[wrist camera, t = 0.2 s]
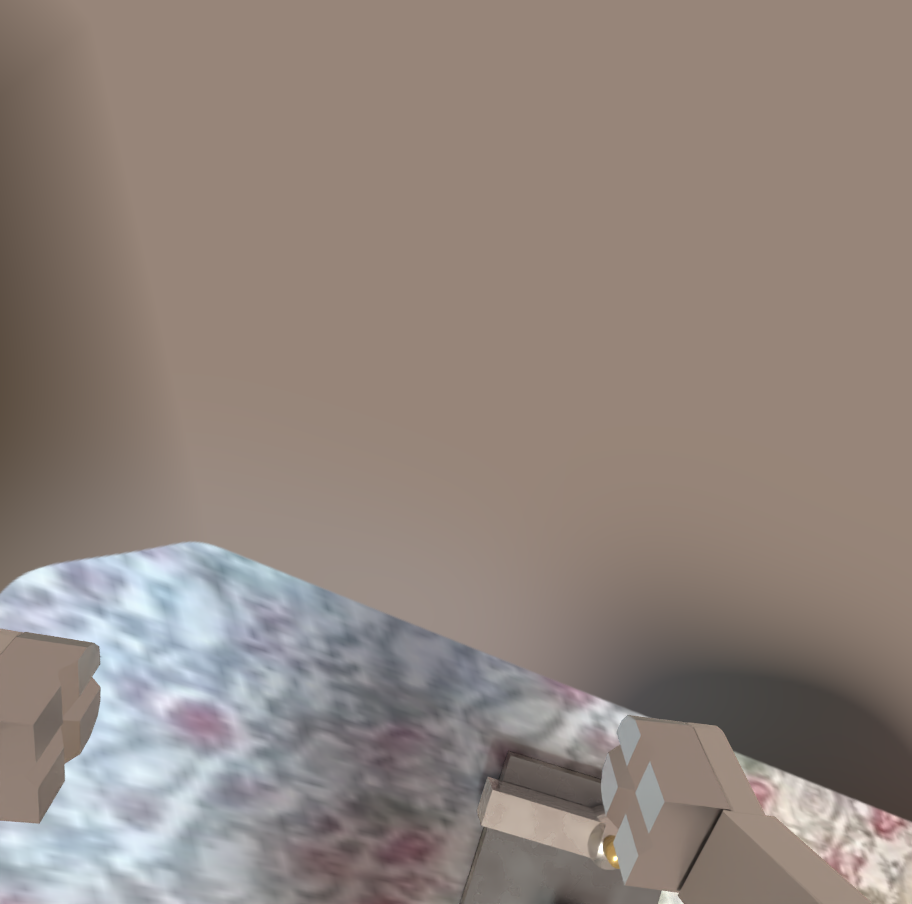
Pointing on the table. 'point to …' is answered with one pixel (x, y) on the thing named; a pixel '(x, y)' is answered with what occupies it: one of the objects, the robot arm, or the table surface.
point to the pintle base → (547, 852)
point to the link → (546, 819)
